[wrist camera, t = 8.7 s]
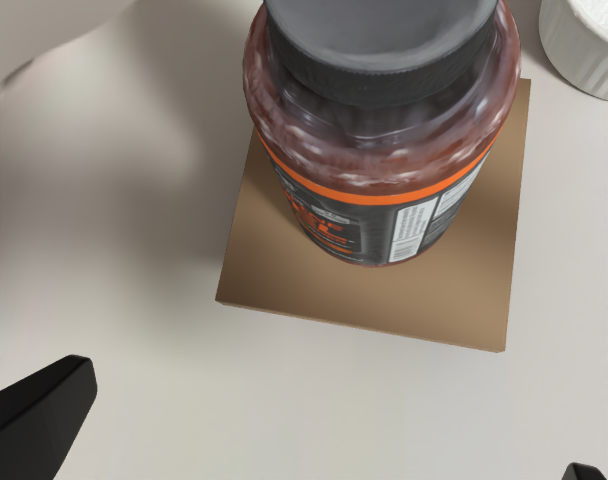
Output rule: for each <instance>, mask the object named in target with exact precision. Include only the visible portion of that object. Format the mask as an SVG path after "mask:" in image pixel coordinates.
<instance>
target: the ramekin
mask: <svg viewBox="0 0 608 480" xmlns="http://www.w3.org/2000/svg"><path fill="white" fill-rule="evenodd" d="M539 34H540V39H541V42H542V46H543V48H544V50H545V53H546V55H547V57H548V59H549V60H550V61H551V63H552V65H553V66H554V67H555V68H556V69H557V70H558V72H559V73H560V74H561V75H562V76H563V77H564V78H565V79H567V80H568V81H569V82H570V83H571V84H573V85H574V86H576V87H578V88H579V89H581V90H583V91H585V92H587V93H589V94H591V95H593V96H596V97H598V98H601V99H604V100H606V101H608V0H542V3H541V9H540V12H539Z"/></svg>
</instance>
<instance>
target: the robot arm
mask: <svg viewBox="0 0 608 480" xmlns="http://www.w3.org/2000/svg"><path fill="white" fill-rule="evenodd" d="M96 395H97V382H96V377H95V372H94V368H93V363H92V361H91V360H90V358H88V357H83V356H79V355H68V356H66V357H64V358H62V359H60V360H58V361H56V362H54V363H52V364H50V365H48V366H47V367H45V368H43V369H41V370H39V371H37V372H35V373H33V374H31V375H29V376H28V377H26V378H24V379H22V380H20V381H18V382H16V383H14V384H12V385H10V386H8V387H7V388H5V389H3V390H1V391H0V480H53V479H54V477H55V476H56V474H57V472H58V471H59V469H60V467H61V465H62V463H63V462H64V460H65V458H66V456H67V454H68V452H69V450H70V448H71V446H72V444H73V442H74V440H75V438H76V436H77V434H78V432H79V430H80V428H81V426H82V424H83V422H84V420H85V418H86V416H87V414H88V412H89V410H90V408H91V406H92V404H93V402H94V400H95V398H96ZM562 480H607V479H606V478H605V477H604V475H603V474H602V473H601V472H600V470H598V469H597V468H596V467H593V466H589V465H585V464H580V463H575V462H574V463H570V464H569V465H568V467H567V469H566V471H565V473H564V475H563V477H562Z"/></svg>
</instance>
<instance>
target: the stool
mask: <svg viewBox="0 0 608 480" xmlns="http://www.w3.org/2000/svg"><path fill="white" fill-rule="evenodd" d="M530 86H531V79H522V78H519V82H518V87H517V91H516V95H515V99H514V101H513V103H512V106H511V109H510V112H509V114H508V117H507V119H506V121H505V123H504V124H503V126H502V128H501V130H500V132H499V134H498V136H497V138H496V140H495V142H494V144H493V146H492V148H491V149H490V151H489V153H488V155H487V157H486V159H485V161H484V163H483V164H482V166H481V168H480V170H479V172H478V174H477V176H476V178H475V179H474V181H473V183H472V185H471V187H470V189H469V191H468V193H467V195H466V197H465V198H464V200H463V202H462V204H461V206H460V208H459V210H458V212H457V214H456V215H455V217H454V219H453V221H452V222H451V224H450V226H449V227H448V229H447V230H446V231H445V232H444V234H443V235H442V237H441V238H440V239H439V240H438V241H437V242H436V243H435V244H434V245H433V246H432V247H431V248H430V249H428V250H427V251H426V252H424V253H423V254H421V255H420V256H417V257H416V258H414V259H411V260H409V261H406V262H404V263H401V264H397V265H393V266H387V267H378V268H374V267H373V268H368V267H362V266H357V265H353V264H349V263H346V262H344V261H341V260H339V259H337V258H335V257H333V256H331V255H330V254H328V253H326V252H325V251H324V250H322V249H321V248H320V247H319V246H317V245H316V244H315V243H314V242H313V241H312V240H311V239H310V237H309V236H308V235H306V234H305V232H304V230H303V228H302V227H301V226H300V224H299V221H298V220H297V218H296V216H295V214H294V213H293V211H292V208H291V205H290V203H289V201H288V199H287V197H286V194H285V192H284V190H283V188H282V185H281V183H280V181H279V179H278V177H277V174H276V172H275V170H274V168H273V166H272V164H271V162H270V159H269V157H268V155H267V154H266V151H265V149H264V147H263V145H262V143H261V141H260V138H259V135H258V132H257V130H256V127H255V125H254V129H253V133H252V137H251V142H250V146H249V151H248V155H247V160H246V164H245V169H244V173H243V178H242V182H241V187H240V191H239V195H238V200H237V204H236V209H235V213H234V218H233V222H232V227H231V231H230V236H229V240H228V245H227V249H226V253H225V258H224V262H223V267H222V271H221V276H220V280H219V285H218V289H217V294H216V298H215V301H217V302H219V303H221V304H223V305H228V306H233V307H239V308H245V309H251V310H256V311H262V312H268V313H273V314H279V315H285V316H290V317H296V318H302V319H308V320H313V321H319V322H325V323H330V324H336V325H342V326H347V327H353V328H359V329H364V330H370V331H376V332H382V333H387V334H393V335H399V336H404V337H410V338H416V339H421V340H427V341H433V342H439V343H444V344H450V345H456V346H461V347H467V348H473V349H478V350H484V351H490V352H495V353H498V352H502V351H505V343H506V333H507V323H508V312H509V302H510V292H511V281H512V271H513V261H514V251H515V240H516V230H517V220H518V209H519V199H520V189H521V179H522V168H523V158H524V148H525V137H526V127H527V117H528V106H529V96H530Z"/></svg>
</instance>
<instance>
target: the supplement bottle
mask: <svg viewBox="0 0 608 480" xmlns="http://www.w3.org/2000/svg"><path fill="white" fill-rule="evenodd" d="M263 1H264V2H263V3H262V5H261V6H260V8H259V10H258V12H257V14H256V16H255V18H254V19H253V22H252V24H251V27H250V31H249V34H248V37H247V40H246V43H245V49H244V58H243V89H244V92H245V97H246V101H247V105H248V110H249V113H250V116H251V118H252V120H253V123H254V125H255V127H256V130H257V132H258V135H259V138H260V141H261V143H262V145H263V147H264V149H265V151H266V154H267V155H268V157H269V159H270V162H271V164H272V166H273V168H274V170H275V172H276V174H277V177H278V179H279V181H280V183H281V185H282V188H283V190H284V192H285V194H286V197H287V199H288V201H289V203H290V205H291V208H292V211H293V213H294V214H295V216H296V218H297V220H298V221H299V224H300V226H301V227H302V228H303V230H304V232H305V234H306V235H308V236H309V237H310V239H311V240H312V241H313V242H314V243H315V244H316V245H317V246H319V247H320V248H321V249H322V250H324V251H325V252H326V253H328V254H330V255H331V256H333V257H335V258H337V259H339V260H341V261H344V262H346V263H349V264H353V265H357V266H362V267H368V268H373V267H374V268H378V267H387V266H393V265H397V264H401V263H404V262H406V261H409V260H411V259H414V258H416V257H417V256H420V255H421V254H423V253H424V252H426V251H427V250H428V249H430V248H431V247H432V246H433V245H434V244H435V243H436V242H437V241H438V240H439V239H440V238H441V237H442V235H443V234H444V232H445V231H446V230H447V229H448V227H449V226H450V224H451V222H452V221H453V219H454V217H455V215H456V214H457V212H458V210H459V208H460V206H461V204H462V202H463V200H464V198H465V197H466V195H467V193H468V191H469V189H470V187H471V185H472V183H473V181H474V179H475V178H476V176H477V174H478V172H479V170H480V168H481V166H482V164H483V163H484V161H485V159H486V157H487V155H488V153H489V151H490V149H491V148H492V146H493V144H494V142H495V140H496V138H497V136H498V134H499V132H500V130H501V128H502V126H503V124H504V123H505V121H506V119H507V117H508V114H509V112H510V109H511V106H512V103H513V101H514V99H515V95H516V91H517V87H518V82H519V78H520V73H521V46H520V39H519V33H518V29H517V26H516V23H515V21H514V18H513V16H512V14H511V11H510V9H509V7H508V5H507V3H506V1H505V0H263Z"/></svg>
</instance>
